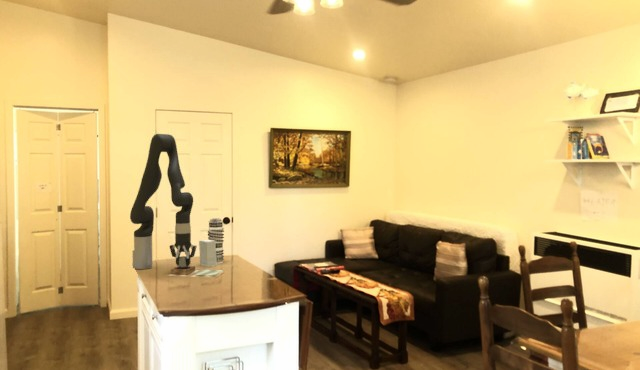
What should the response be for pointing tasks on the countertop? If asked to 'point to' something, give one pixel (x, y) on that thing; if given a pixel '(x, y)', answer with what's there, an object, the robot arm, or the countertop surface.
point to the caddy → (194, 272)
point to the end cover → (182, 262)
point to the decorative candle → (217, 237)
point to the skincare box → (207, 253)
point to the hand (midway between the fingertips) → (183, 265)
